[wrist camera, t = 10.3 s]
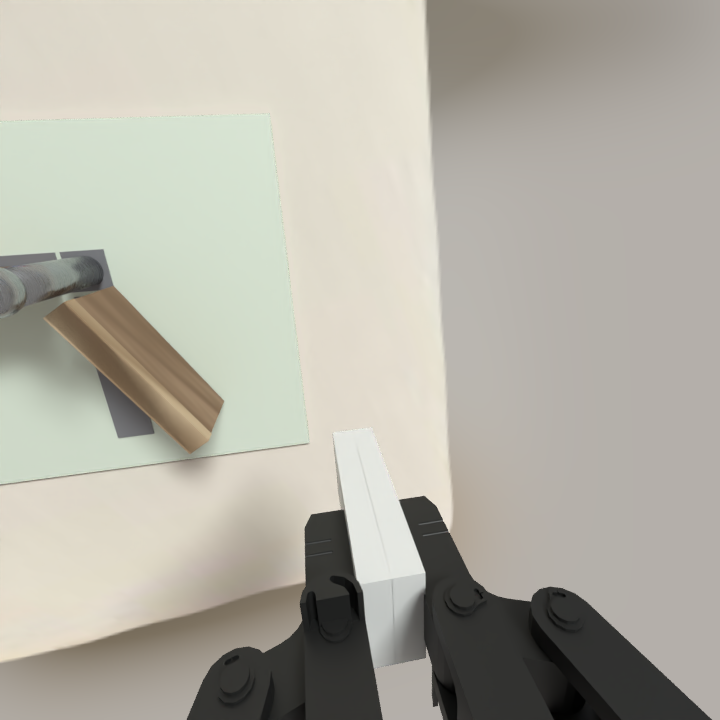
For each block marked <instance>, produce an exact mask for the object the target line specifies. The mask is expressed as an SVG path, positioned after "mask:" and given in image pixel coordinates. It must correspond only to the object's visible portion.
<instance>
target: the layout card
mask: <svg viewBox="0 0 720 720" xmlns="http://www.w3.org/2000/svg"><path fill="white" fill-rule="evenodd" d="M78 256H89V257H92V258H94V259H95V260H97V261H98V262H99V263H100V265H101V266H102V268H103V272H104V276H103V279H102V281H101V282H100V283H99V284H97V285H94V286H91V287H88V288H85V289H81V290H78V291H75V292H71V293H68V294H65V295H62V296H58V297H55V298H52V299H48V300H45V301H42V302H39V303H35V304H32V305H29V306H25V307H23V308H22V309H21V310H20V311H19V312H18V313H16V314H14V315H12V316H10V317H6V318H1V319H0V484H7V483H15V482H22V481H30V480H37V479H45V478H52V477H60V476H67V475H74V474H82V473H89V472H97V471H104V470H112V469H119V468H127V467H134V466H141V465H149V464H156V463H164V462H171V461H179V460H186V459H194V458H201V457H208V456H216V455H223V454H231V453H238V452H246V451H253V450H261V449H268V448H276V447H283V446H290V445H298V444H305V443H309V434H308V425H307V417H306V409H305V401H304V392H303V384H302V376H301V368H300V359H299V351H298V343H297V334H296V326H295V318H294V310H293V301H292V293H291V285H290V277H289V268H288V260H287V252H286V244H285V235H284V227H283V219H282V211H281V202H280V194H279V186H278V178H277V169H276V161H275V153H274V144H273V136H272V128H271V120H270V113H267V114H232V115H197V116H162V117H126V118H91V119H56V120H21V121H0V267H8V266H18V265H24V264H31V263H38V262H45V261H51V260H58V259H65V258H71V257H78ZM111 286H114V287H115V288H116V289H117V290H118V291H119V292H120V293H121V294H122V295H123V296H124V297H125V298H126V299H127V300H128V301H129V302H130V303H131V304H132V305H133V306H134V308H135V309H136V310H137V311H138V312H139V313H140V314H141V315H142V316H143V317H144V318H145V319H146V320H147V321H148V322H149V323H150V324H151V325H152V326H153V327H154V328H155V329H156V330H157V331H158V332H159V334H160V335H161V336H162V337H163V338H164V339H165V340H166V341H167V342H168V343H169V344H170V345H171V346H172V347H173V348H174V349H175V350H176V351H177V352H178V353H179V354H180V355H181V356H182V357H183V358H184V359H185V361H186V362H187V363H188V364H189V365H190V366H191V367H192V368H193V369H194V370H195V371H196V372H197V373H198V374H199V375H200V376H201V377H202V378H203V379H204V380H205V381H206V382H207V383H208V384H209V385H210V387H211V388H212V389H213V390H214V391H215V392H216V393H217V394H218V395H219V396H220V397H221V398H222V399H223V400H224V403H223V405H222V408H221V410H220V413H219V415H218V418H217V420H216V422H215V425H214V427H213V430H212V432H211V433H212V435H211V437H210V439H209V441H208V442H207V443H205V444H204V445H202V446H201V447H200V448H198V449H197V450H195V451H194V452H192V453H191V454H189V453H188V452H187V451H186V450H185V449H184V448H183V447H181V446H180V445H179V444H178V443H177V442H176V441H175V440H174V439H173V438H172V437H171V436H170V435H168V434H167V433H166V432H165V431H164V430H163V429H162V428H161V427H160V426H159V425H158V424H157V423H155V422H154V421H153V420H152V419H151V418H150V417H149V416H148V415H147V414H146V413H145V412H144V411H142V410H141V409H140V408H139V407H138V406H137V405H136V404H135V403H134V402H133V401H132V400H131V399H130V398H128V397H127V396H126V395H125V394H124V393H123V392H122V391H121V390H120V389H119V388H118V387H117V386H115V385H114V384H113V383H112V382H111V381H110V380H109V379H108V378H107V377H106V376H105V375H104V374H102V373H101V372H100V371H99V370H98V369H97V368H96V367H95V366H94V365H93V364H92V363H91V362H89V361H88V360H87V359H86V358H85V357H84V356H83V355H82V354H81V353H80V352H79V351H78V350H76V349H75V348H74V347H73V346H72V345H71V344H70V343H69V342H68V341H67V340H66V339H65V338H63V337H62V336H61V335H60V334H59V333H58V332H57V331H56V330H55V329H54V328H53V327H52V326H50V325H49V324H48V323H47V322H46V321H45V320H44V319H43V318H44V317H45V316H47V315H48V314H49V313H50V312H52V311H53V310H54V309H56V308H57V307H58V306H60V305H61V304H62V303H63V302H65V301H68V300H71V299H76V298H79V297H82V296H85V295H88V294H91V293H94V292H97V291H99V290H102V289H105V288H108V287H111Z"/></svg>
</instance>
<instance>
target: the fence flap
mask: <svg viewBox="0 0 720 720" xmlns="http://www.w3.org/2000/svg"><path fill="white" fill-rule="evenodd" d="M43 319H44V320H45V321H46V322H47V323H48V324H49V325H50V326H52V327H53V328H54V329H55V330H56V331H57V332H58V333H59V334H60V335H61V336H62V337H63V338H65V339H66V340H67V341H68V342H69V343H70V344H71V345H72V346H73V347H74V348H75V349H76V350H78V351H79V352H80V353H81V354H82V355H83V356H84V357H85V358H86V359H87V360H88V361H89V362H91V363H92V364H93V365H94V366H95V367H96V368H97V369H98V370H99V371H100V372H101V373H102V374H104V375H105V376H106V377H107V378H108V379H109V380H110V381H111V382H112V383H113V384H114V385H115V386H117V387H118V388H119V389H120V390H121V391H122V392H123V393H124V394H125V395H126V396H127V397H128V398H130V399H131V400H132V401H133V402H134V403H135V404H136V405H137V406H138V407H139V408H140V409H141V410H142V411H144V412H145V413H146V414H147V415H148V416H149V417H150V418H151V419H152V420H153V421H154V422H155V423H157V424H158V425H159V426H160V427H161V428H162V429H163V430H164V431H165V432H166V433H167V434H168V435H170V436H171V437H172V438H173V439H174V440H175V441H176V442H177V443H178V444H179V445H180V446H181V447H183V448H184V449H185V450H186V451H187V452H188V453H189V454H191V453H192V452H194V451H195V450H197V449H198V448H200V447H201V446H202V445H204V444H205V443H207V442H208V441H209V439H210V437H211V435H212V433H211V432H212V430H213V427H214V425H215V422H216V420H217V418H218V415H219V413H220V410H221V408H222V405H223V403H224V400H223V399H222V398H221V397H220V396H219V395H218V394H217V393H216V392H215V391H214V390H213V389H212V388H211V387H210V385H209V384H208V383H207V382H206V381H205V380H204V379H203V378H202V377H201V376H200V375H199V374H198V373H197V372H196V371H195V370H194V369H193V368H192V367H191V366H190V365H189V364H188V363H187V362H186V361H185V359H184V358H183V357H182V356H181V355H180V354H179V353H178V352H177V351H176V350H175V349H174V348H173V347H172V346H171V345H170V344H169V343H168V342H167V341H166V340H165V339H164V338H163V337H162V336H161V335H160V334H159V332H158V331H157V330H156V329H155V328H154V327H153V326H152V325H151V324H150V323H149V322H148V321H147V320H146V319H145V318H144V317H143V316H142V315H141V314H140V313H139V312H138V311H137V310H136V309H135V308H134V306H133V305H132V304H131V303H130V302H129V301H128V300H127V299H126V298H125V297H124V296H123V295H122V294H121V293H120V292H119V291H118V290H117V289H116V288H115V287H114V286H111V287H108V288H105V289H102V290H99V291H97V292H94V293H91V294H88V295H85V296H82V297H79V298H76V299H71V300H68V301H65V302H63V303H62V304H61V305H60V306H58V307H57V308H56V309H54V310H53V311H52V312H50V313H49V314H48V315H47V316H45V317H44V318H43Z"/></svg>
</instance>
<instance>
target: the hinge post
mask: <svg viewBox="0 0 720 720" xmlns="http://www.w3.org/2000/svg"><path fill="white" fill-rule="evenodd" d="M103 276H104V272H103V268H102V266H101V265H100V263H99V262H98V261H97V260H95V259H94V258H92V257H89V256H78V257H71V258H65V259H58V260H51V261H45V262H38V263H31V264H24V265H18V266H11V267H4V268H1V267H0V319H1V318H6V317H10V316H12V315H14V314H16V313H18V312H19V311H20V310H21V309H22V308H23V307H25V306H29V305H32V304H35V303H39V302H42V301H45V300H48V299H52V298H55V297H58V296H62V295H65V294H68V293H71V292H75V291H78V290H81V289H85V288H88V287H91V286H94V285H97V284H99V283H100V282H101V281H102V279H103Z"/></svg>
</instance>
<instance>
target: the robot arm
mask: <svg viewBox="0 0 720 720" xmlns="http://www.w3.org/2000/svg"><path fill="white" fill-rule="evenodd" d="M333 442H334V452H335V463H336V473H337V483H338V493H339V500H340V507H341V510H338V511H331V512H325V513H318V514H312V515H311V516H310V518H309V520H308V522H307V524H306V526H305V571H306V587H305V589H304V590H303V592H302V595H301V600H300V608H301V614H302V623H301V624H300V626H299V628H298V629H297V630H296V631H295V632H294V634H292V636H291V637H290V638H288V639H287V640H285V641H284V642H282V643H281V644H279V645H278V646H276V647H274V648H272V649H270V650H268V651H266V652H265V653H262V652H261V651H260V650H258V649H255V648H251V647H243V648H237V649H234V650H232V651H230V652H228V653H226V654H225V655H223V656H222V657H221V658H220V659H219V660H218V661H217V662H216V663H215V664H214V665H212V667H211V668H210V670H209V671H208V673H207V675H206V677H205V678H204V680H203V682H202V684H201V687H200V689H199V692H198V694H197V696H196V699H195V701H194V703H193V706H192V708H191V711H190V713H189V716H188V718H187V720H383V719H382V713H381V707H380V702H379V696H378V691H377V685H376V679H375V673H374V669H375V668H379V667H384V666H389V665H394V664H399V663H404V662H408V661H413V660H418V659H423V658H426V647H427V650H428V653H429V656H430V660H431V663H432V699H433V707H435V706H438V703H439V706H440V710H441V713H442V716H443V720H712V719H711V718H709V717H708V716H707V715H706V714H705V713H704V712H703V711H702V710H701V709H700V708H699V707H698V706H697V705H696V704H695V703H693V702H692V701H691V700H690V699H689V698H688V697H687V696H686V695H685V694H684V693H683V692H682V691H681V690H680V689H679V688H678V687H676V686H675V685H674V684H673V683H672V682H671V681H670V680H669V679H668V678H667V677H666V676H665V675H664V674H663V673H662V672H661V671H659V670H658V669H657V668H656V667H655V666H654V665H653V664H652V663H651V662H650V661H649V660H648V659H647V658H646V657H645V656H643V655H642V654H641V653H640V652H639V651H638V650H637V649H636V648H635V647H634V646H633V645H632V644H631V643H630V642H629V641H628V640H626V639H625V638H624V637H623V636H622V635H621V634H620V633H619V632H618V631H617V630H616V629H615V628H614V627H612V626H611V625H610V624H609V623H608V622H607V621H606V620H605V619H604V618H603V617H602V616H601V615H600V614H599V613H598V612H597V611H596V610H595V609H593V608H592V607H591V606H590V605H589V604H588V603H587V602H586V601H584V600H583V599H582V598H580V597H579V596H578V595H576V594H574V593H572V592H570V591H567V590H565V589H563V588H555V587H547V588H543V589H539V590H538V591H537V592H536V593H535V594H534V595H533V597H532V601H531V602H529V601H522V600H513V599H507V598H502V597H498V596H496V595H493V594H491V593H489V592H487V591H486V590H485V589H484V587H483V586H481V585H480V584H478V583H477V582H476V581H474V580H473V578H472V577H471V575H470V574H469V572H468V570H467V568H466V566H465V564H464V561H463V560H462V557H461V556H460V553H459V552H458V550H457V547H456V545H455V543H454V541H453V539H452V537H451V535H450V533H448V529H447V527H446V525H445V523H444V522H443V519H442V517H441V515H440V513H439V511H438V509H437V507H436V506H435V505H434V504H433V503H432V502H431V501H430V500H428V499H427V498H426V497H425V496H421V497H414V498H408V499H401V500H399V499H398V497H397V494H396V491H395V489H394V486H393V483H392V480H391V478H390V475H389V472H388V469H387V467H386V464H385V461H384V459H383V456H382V453H381V450H380V448H379V445H378V442H377V439H376V437H375V434H374V431H373V429H372V427H370V428H362V429H354V430H346V431H339V432H333Z"/></svg>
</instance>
